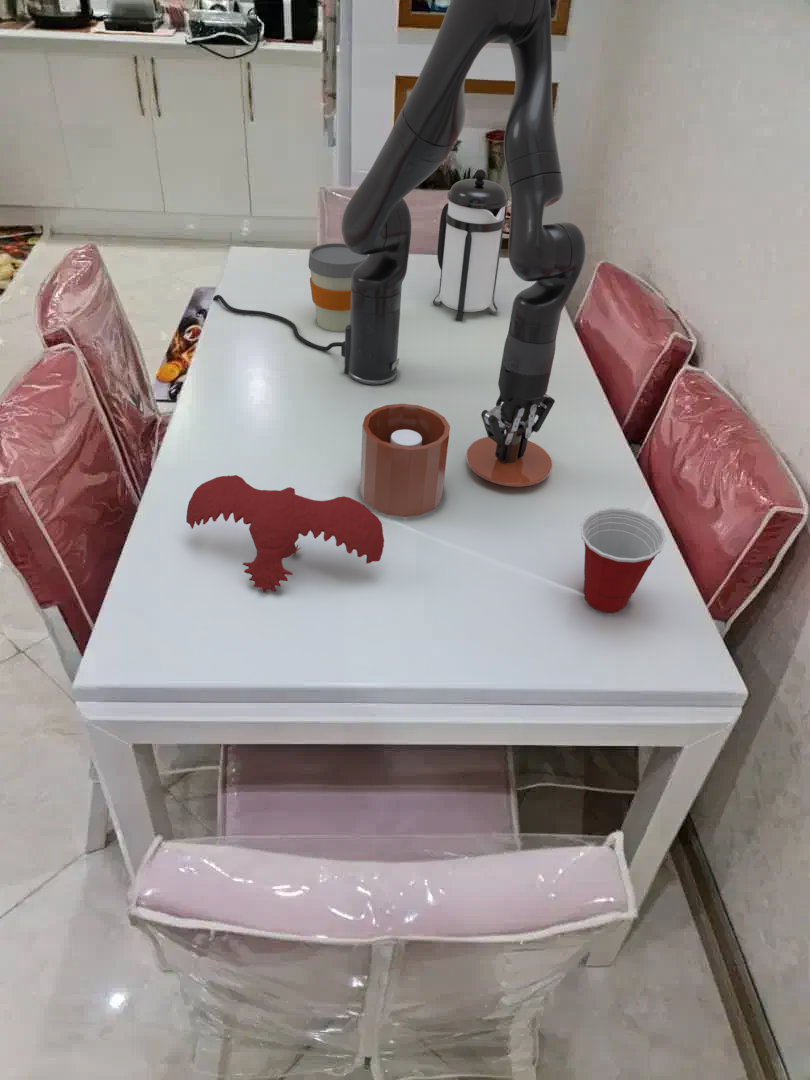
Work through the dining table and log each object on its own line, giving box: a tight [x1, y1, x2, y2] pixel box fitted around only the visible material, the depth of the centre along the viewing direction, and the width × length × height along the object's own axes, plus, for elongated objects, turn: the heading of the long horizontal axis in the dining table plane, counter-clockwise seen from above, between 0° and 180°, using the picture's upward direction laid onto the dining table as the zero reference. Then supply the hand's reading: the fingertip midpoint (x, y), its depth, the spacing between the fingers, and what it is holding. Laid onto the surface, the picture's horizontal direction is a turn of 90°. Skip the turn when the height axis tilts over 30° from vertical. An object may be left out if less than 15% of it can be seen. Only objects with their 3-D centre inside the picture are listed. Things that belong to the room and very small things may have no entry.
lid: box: [465, 429, 553, 488], centre depth 131 cm, size 14×14×6 cm
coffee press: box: [432, 168, 509, 322], centre depth 176 cm, size 17×16×30 cm
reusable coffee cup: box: [307, 242, 369, 333], centre depth 170 cm, size 13×13×15 cm
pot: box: [359, 403, 451, 518], centre depth 123 cm, size 13×13×12 cm
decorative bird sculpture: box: [185, 474, 385, 594], centre depth 110 cm, size 28×9×15 cm
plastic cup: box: [579, 507, 667, 614], centre depth 107 cm, size 11×11×12 cm
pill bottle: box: [390, 430, 422, 447], centre depth 124 cm, size 6×6×10 cm
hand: (509, 457), depth 132 cm, fingers closed on lid, 2 cm apart
